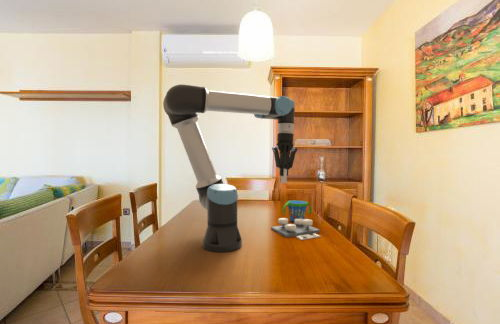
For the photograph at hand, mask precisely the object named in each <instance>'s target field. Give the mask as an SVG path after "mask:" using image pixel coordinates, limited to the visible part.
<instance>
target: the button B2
mask: <svg viewBox="0 0 500 324" xmlns="http://www.w3.org/2000/svg"><path fill="white" fill-rule="evenodd" d="M302 220H303V219H295V221H294V222H293V224H297V225H298V226H301V225H303V224H302Z"/></svg>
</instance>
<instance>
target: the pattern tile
mask: <svg viewBox="0 0 500 324" xmlns="http://www.w3.org/2000/svg"><path fill="white" fill-rule="evenodd" d="M321 237H322V236H321V235H319V234H318V233H312V234H306V235H299V236H295V238H297V239H299V241H300V240H301V241H304V240H311V239H319V238H321Z"/></svg>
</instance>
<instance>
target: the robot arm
mask: <svg viewBox="0 0 500 324" xmlns="http://www.w3.org/2000/svg"><path fill="white" fill-rule="evenodd" d="M163 109H164V113H166V115H167V116H168V119H169V121H170V124H171V127H174V128H175V129H177V132H178V135H179V137H180V140H181V142H182V146H183V147H184V149H185V153H186V155H187V157H188V160H189V163H190V166H191V169H192V170H193V173H194V175H195V178H196V181H197V183H196V185H195V189H196V191H197V194H198V200H199V203H200V204H201V206H202V207H203V208H204V209H206V211H207V215H206V216H207V217H206V218H207V225H206V226H207V228H206V231H205V232H204V233H205V234H204V236H203V239H202V247H203V248H204V249H205V250H207V251H210V252H215V253H216V252H217V253H226V252H232V251H236V250H238V249H240V248H241V247H242V245H243V244H242V242H243V239H242V235H241V233H240V230H239V227H238V198H239V195H238V189H237V187H236V186H235V185H232V184H228V183H224V182H223V179H222V176H219V175H218V174H217V173H216V170H215V167H214V165H213V162H212V159H211V156H210V153H209V151H208V148H207V145H206V142H205V141H204V138H203V135H202V132H201V130H200V126H199V123H198V120H199V118H200V116H199V114H204V113H206V112H222V113H233V114H234V113H235V114H236V113H237V114H238V113H239V114H250V115H254V117H255V118H256V119H261V120H262V119H264V120H265V119H266V120H275V121H276V120H277V136H276V137H277V143H276V145H275V146H272V147H271V150H272V152H273V154H274V161H275V162H274V163H275V166H276V168H277V169H278V170H279V176H280V183H281V184H287V179H288V176H289V170H290V169H292V168H293V166H294V161H295V159H296V153H297V152H298V147H295V146H294V143H293V142H294V136H295V135H294V132H295V131H294V130H295V110H296V108H295V101H294V100H293V99H291V98H289V97H288V96H286V95H280V96H278V97H277V96H268V95H267V96H266V95H256V94H249V93H238V92H230V91H229V92H227V91H217V90H208V89H207V88H206V87H205V86H197V85H190V84H176V85H173V86H171V87H170V88H169V89H168V91H166V94H165V96H164V99H163Z"/></svg>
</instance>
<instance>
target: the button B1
mask: <svg viewBox="0 0 500 324" xmlns="http://www.w3.org/2000/svg"><path fill="white" fill-rule="evenodd" d="M313 222H314V221H313V220H312V219H309V218H305V219H303V220H302V224H303V225H306V228H309V226H313Z"/></svg>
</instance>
